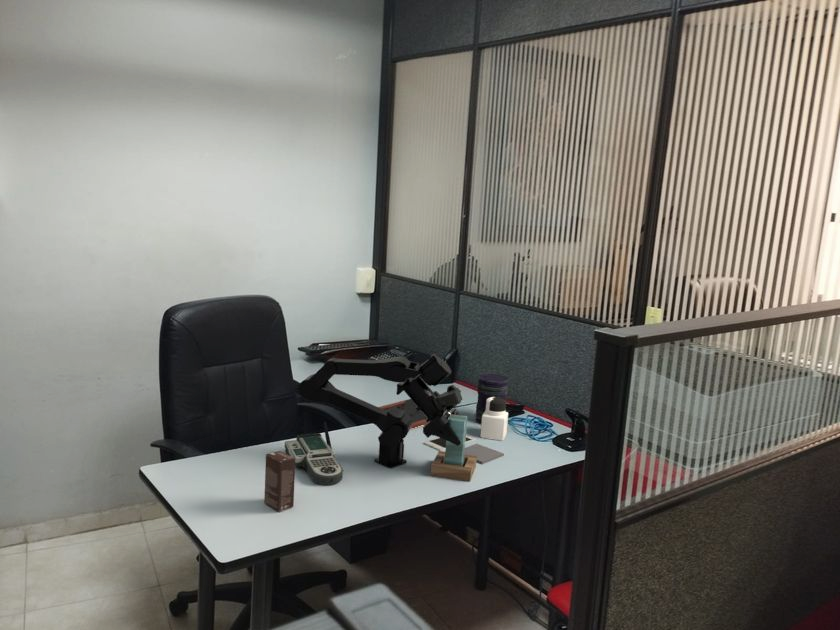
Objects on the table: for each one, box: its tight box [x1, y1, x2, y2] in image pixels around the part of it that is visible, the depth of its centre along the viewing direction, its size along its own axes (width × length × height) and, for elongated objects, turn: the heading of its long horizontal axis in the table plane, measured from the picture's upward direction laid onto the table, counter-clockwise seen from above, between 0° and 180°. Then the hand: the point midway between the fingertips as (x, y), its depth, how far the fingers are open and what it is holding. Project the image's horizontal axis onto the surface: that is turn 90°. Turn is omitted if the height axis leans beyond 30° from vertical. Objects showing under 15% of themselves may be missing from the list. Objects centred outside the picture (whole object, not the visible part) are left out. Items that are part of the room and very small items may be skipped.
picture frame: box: [378, 398, 459, 429], centre depth 227 cm, size 20×2×25 cm
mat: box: [465, 443, 505, 465], centre depth 195 cm, size 10×10×1 cm
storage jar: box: [475, 373, 509, 425], centre depth 223 cm, size 10×10×15 cm
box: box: [263, 450, 296, 513], centre depth 156 cm, size 6×4×12 cm
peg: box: [444, 414, 468, 466], centre depth 181 cm, size 4×4×13 cm
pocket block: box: [430, 450, 477, 482], centre depth 182 cm, size 10×10×3 cm
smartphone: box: [423, 434, 476, 451], centre depth 204 cm, size 7×16×1 cm, turn 133°
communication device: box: [283, 421, 345, 486], centre depth 178 cm, size 12×24×9 cm, turn 25°
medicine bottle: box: [480, 397, 509, 442], centre depth 210 cm, size 7×7×12 cm
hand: (461, 441), depth 180 cm, fingers closed on peg, 4 cm apart
